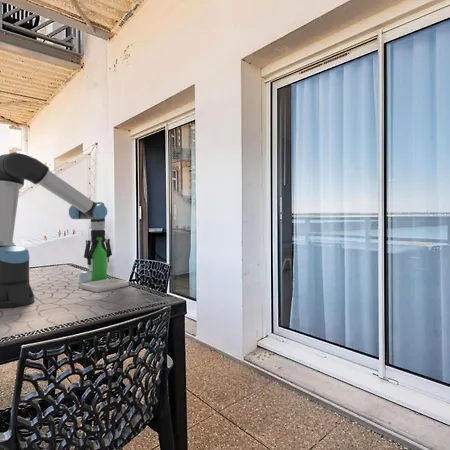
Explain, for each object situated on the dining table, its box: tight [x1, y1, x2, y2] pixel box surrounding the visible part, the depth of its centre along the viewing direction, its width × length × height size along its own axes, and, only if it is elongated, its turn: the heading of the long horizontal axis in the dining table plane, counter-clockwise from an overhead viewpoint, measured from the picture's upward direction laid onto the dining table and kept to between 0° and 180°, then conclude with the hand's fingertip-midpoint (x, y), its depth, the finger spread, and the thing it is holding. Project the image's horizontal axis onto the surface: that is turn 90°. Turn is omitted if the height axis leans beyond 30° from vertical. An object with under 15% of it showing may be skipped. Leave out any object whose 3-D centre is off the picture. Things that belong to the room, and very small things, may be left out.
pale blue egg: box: [78, 270, 92, 287], centre depth 171 cm, size 6×6×7 cm
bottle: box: [90, 237, 108, 282], centre depth 183 cm, size 9×9×25 cm
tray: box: [79, 278, 130, 293], centre depth 166 cm, size 18×15×2 cm
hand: (98, 269), depth 183 cm, fingers closed on bottle, 9 cm apart
